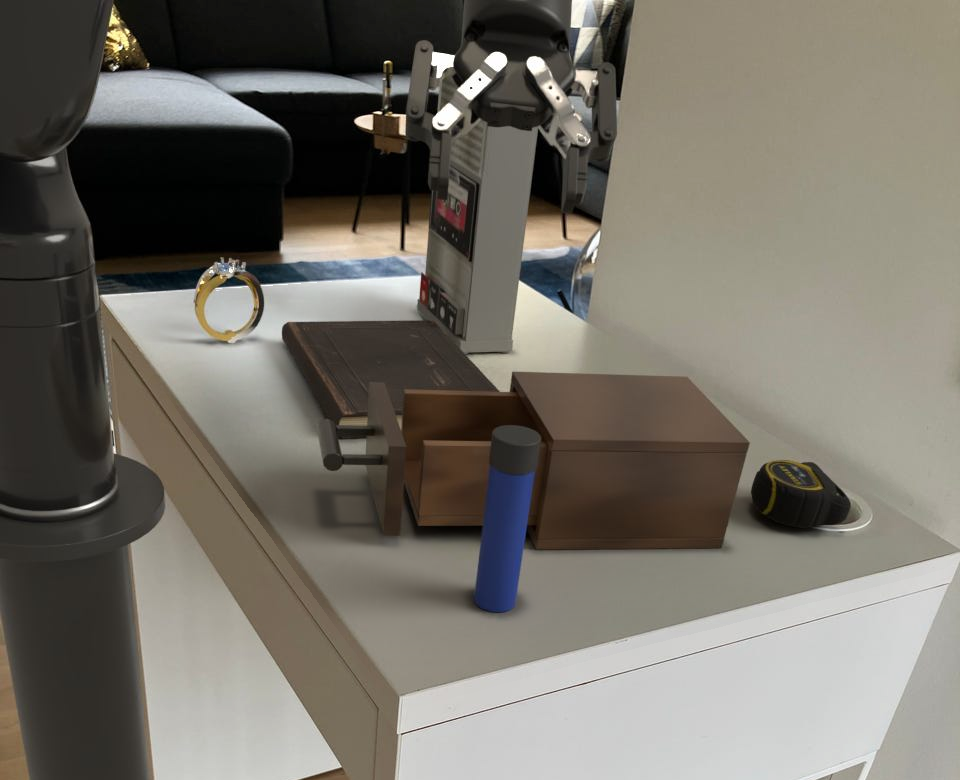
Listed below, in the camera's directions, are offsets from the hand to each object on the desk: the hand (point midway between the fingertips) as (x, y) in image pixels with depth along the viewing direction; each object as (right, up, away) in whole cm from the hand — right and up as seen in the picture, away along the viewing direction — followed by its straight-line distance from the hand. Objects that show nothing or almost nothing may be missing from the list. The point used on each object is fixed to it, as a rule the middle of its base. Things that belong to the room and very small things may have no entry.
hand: (506, 200), depth 71 cm
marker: (-1, -27, 0) cm, 27 cm away
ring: (-27, 0, +35) cm, 44 cm away
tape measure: (+24, -19, +16) cm, 35 cm away
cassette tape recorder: (-4, +4, +45) cm, 45 cm away
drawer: (-5, -19, +9) cm, 22 cm away
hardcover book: (-10, -5, +30) cm, 32 cm away
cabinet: (+8, -19, +13) cm, 25 cm away
